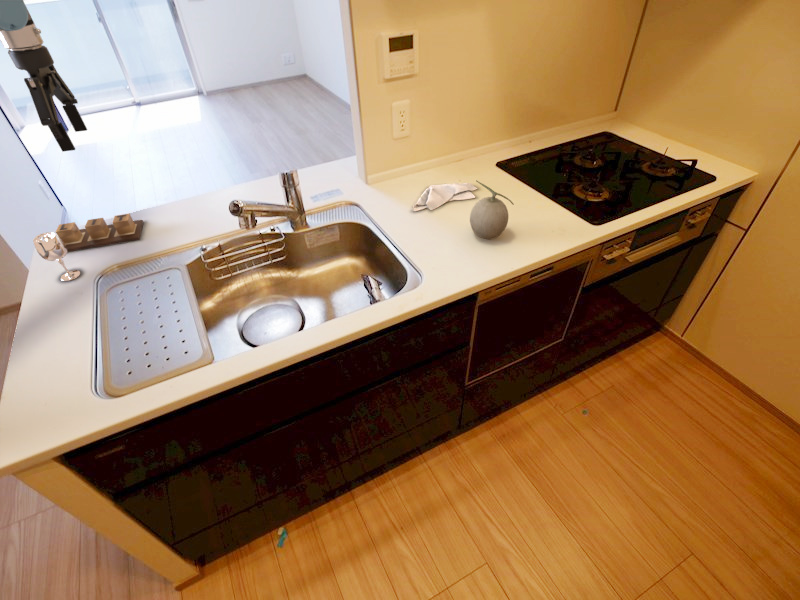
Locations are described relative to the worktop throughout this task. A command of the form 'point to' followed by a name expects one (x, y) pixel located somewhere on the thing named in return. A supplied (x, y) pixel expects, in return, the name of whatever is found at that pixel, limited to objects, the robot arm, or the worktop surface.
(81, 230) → the board
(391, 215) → the worktop surface
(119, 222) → the tile
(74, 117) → the robot arm
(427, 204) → the cloth
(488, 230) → the fruit
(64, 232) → the tile
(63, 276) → the wineglass
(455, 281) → the worktop surface
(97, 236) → the tile
